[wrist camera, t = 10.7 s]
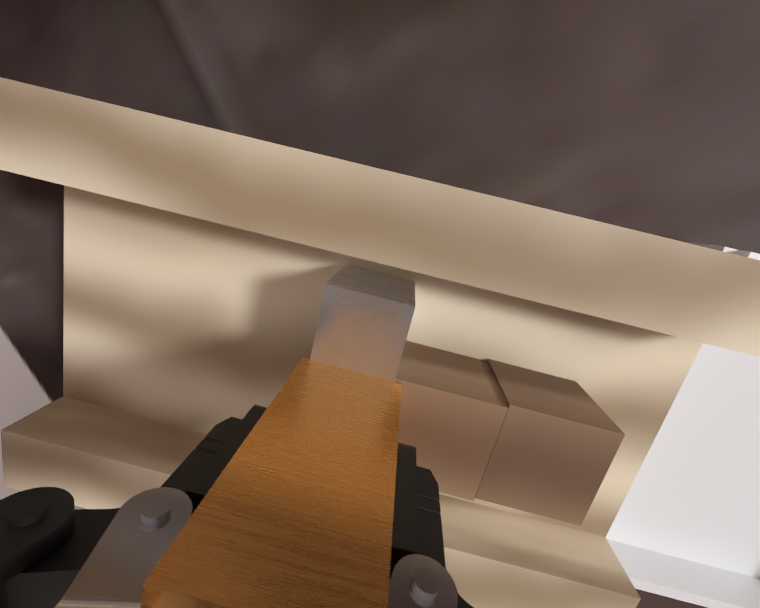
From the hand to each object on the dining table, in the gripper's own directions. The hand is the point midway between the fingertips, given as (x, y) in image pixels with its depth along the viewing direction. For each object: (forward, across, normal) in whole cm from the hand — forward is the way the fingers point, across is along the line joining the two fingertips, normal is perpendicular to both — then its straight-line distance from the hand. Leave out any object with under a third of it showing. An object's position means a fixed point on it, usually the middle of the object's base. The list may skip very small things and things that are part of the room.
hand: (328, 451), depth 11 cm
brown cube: (+6, -8, 0) cm, 10 cm away
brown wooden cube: (+6, -4, 0) cm, 7 cm away
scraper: (+6, 0, 0) cm, 6 cm away
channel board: (+10, 0, 0) cm, 10 cm away
